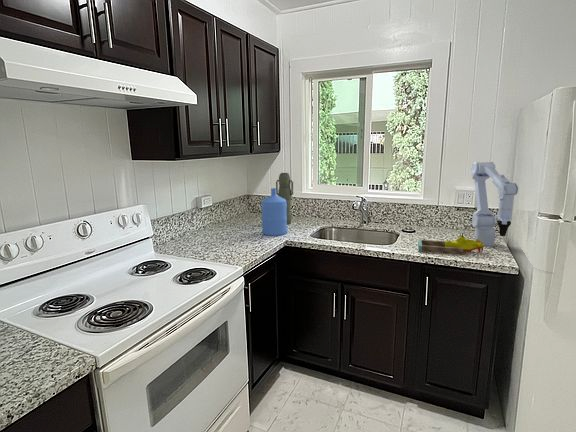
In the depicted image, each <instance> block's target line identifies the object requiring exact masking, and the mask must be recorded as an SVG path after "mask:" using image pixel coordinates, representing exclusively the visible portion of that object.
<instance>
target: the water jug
mask: <svg viewBox="0 0 576 432" xmlns="http://www.w3.org/2000/svg"><path fill="white" fill-rule="evenodd" d="M270 190H271V191H270V195H269V196H267V197H265V198H264V199H262V200H261V203H260V206H261V223H262V224H261V225H262V227H261V231H262V235H264V234H265V236H268V235H269V237H279V236H283V235H286V234H287V233H288V225H287V208H286V207H287V203H286V199H283V198H281V197H279V196H278V195H277V194H276V188H270Z"/></svg>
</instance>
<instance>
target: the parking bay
mask: <svg viewBox="0 0 576 432" xmlns="http://www.w3.org/2000/svg"><path fill="white" fill-rule="evenodd" d="M417 241H418V242H417V249H418V252H421V253H434V254H436V253H437V254H445V255H446V254H448V255H458V254H459V256H460V255H461V256H463V255H464V252H463V248H454V247H445V241H446V240H432V239H418V240H417Z"/></svg>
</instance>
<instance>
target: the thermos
mask: <svg viewBox="0 0 576 432" xmlns="http://www.w3.org/2000/svg"><path fill="white" fill-rule="evenodd" d="M275 187H276V195H277V196H279V197H281V198H283V199H286V203H287V207H286V208H287V226H289V225H291V224H292V223H293V222H292V220H293V218H292V217H293V216H292V206H291V205H292V203H291V200H292V196H293V195H294V181H293V180H292V179H291V177H290V174H289V173H288V172H280V174H279V176H278V179H277V180H276V182H275Z"/></svg>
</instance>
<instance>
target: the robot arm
mask: <svg viewBox="0 0 576 432" xmlns="http://www.w3.org/2000/svg"><path fill="white" fill-rule="evenodd" d="M470 171H471V179H473V181H474V182H473V183H474V189H475V191H474V192H475V198H476V207H477V210H476V211H475V212H473V214H472V220H471V224H472V225H473V227H474V228H475V229H474V238H475V239H474V238H473V240H474V241H475V240H476V239H479V241H481V242H483V244H484V247H485V246H486V247H495V244H496V243H495V241H496V229H495V228H493V227H494V226H495V225H496V223H497V225H498V230H499V236H501V237H506V235H507V232H508V230H509V227H510V226H511V224H512V220H513V210H514V201H515V196H516V195H517V194H518V192H519V186H518V185H517V183H516V182H510V180H509V179H508V178H507V177H506V175H505V174H499V172H498V171H497V170H496V164H495V163H494V162H493V161H490V162H489V161H485V162H484V161H482V162H480V161H478V162H477V161H475V162H473V164H472V166H471V168H470ZM490 178H491V179H492V183H493V184H494V186H495V187H496V188H497V193H498V199H499V203H498V209H497V210H498V211H497V212H498V213H497V215H496V216H495V214H494V212H493V211H491V210H490V209H489V202H488V194H487V185H486V180H487V179H490ZM496 220H497V221H496Z"/></svg>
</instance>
